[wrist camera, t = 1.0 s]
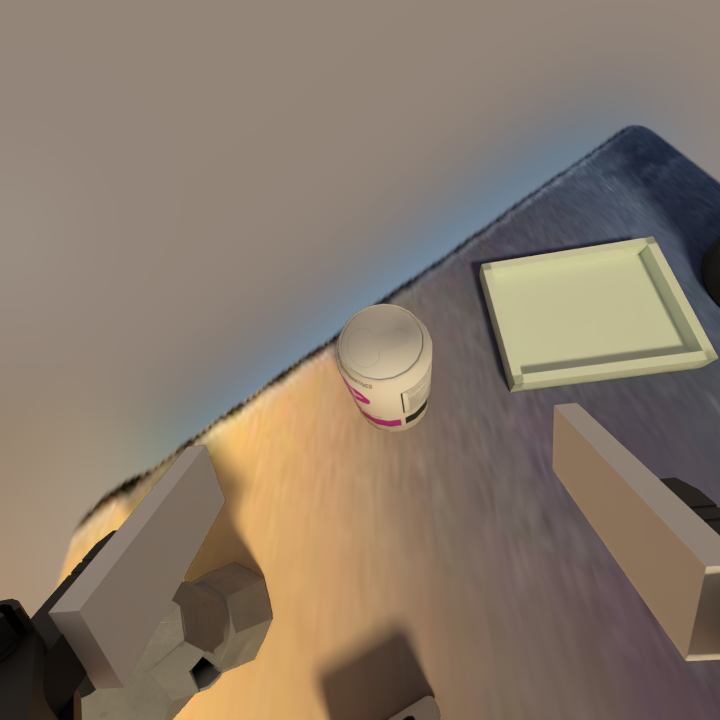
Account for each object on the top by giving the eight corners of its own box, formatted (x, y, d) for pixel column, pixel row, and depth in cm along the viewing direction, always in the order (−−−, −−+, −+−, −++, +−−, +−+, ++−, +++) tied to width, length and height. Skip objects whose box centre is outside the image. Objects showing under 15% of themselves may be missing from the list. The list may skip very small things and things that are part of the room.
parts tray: (641, 250, 47) (653, 236, 45) (701, 367, 40) (718, 358, 38) (478, 276, 49) (481, 264, 47) (509, 392, 42) (514, 384, 40)
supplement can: (370, 442, 42) (346, 402, 29) (351, 377, 46) (321, 314, 32) (439, 420, 42) (448, 370, 28) (415, 357, 46) (412, 285, 32)
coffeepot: (297, 563, 38) (206, 591, 22) (288, 680, 34) (168, 816, 18) (160, 557, 41) (-15, 577, 24) (136, 666, 37) (-90, 775, 20)
